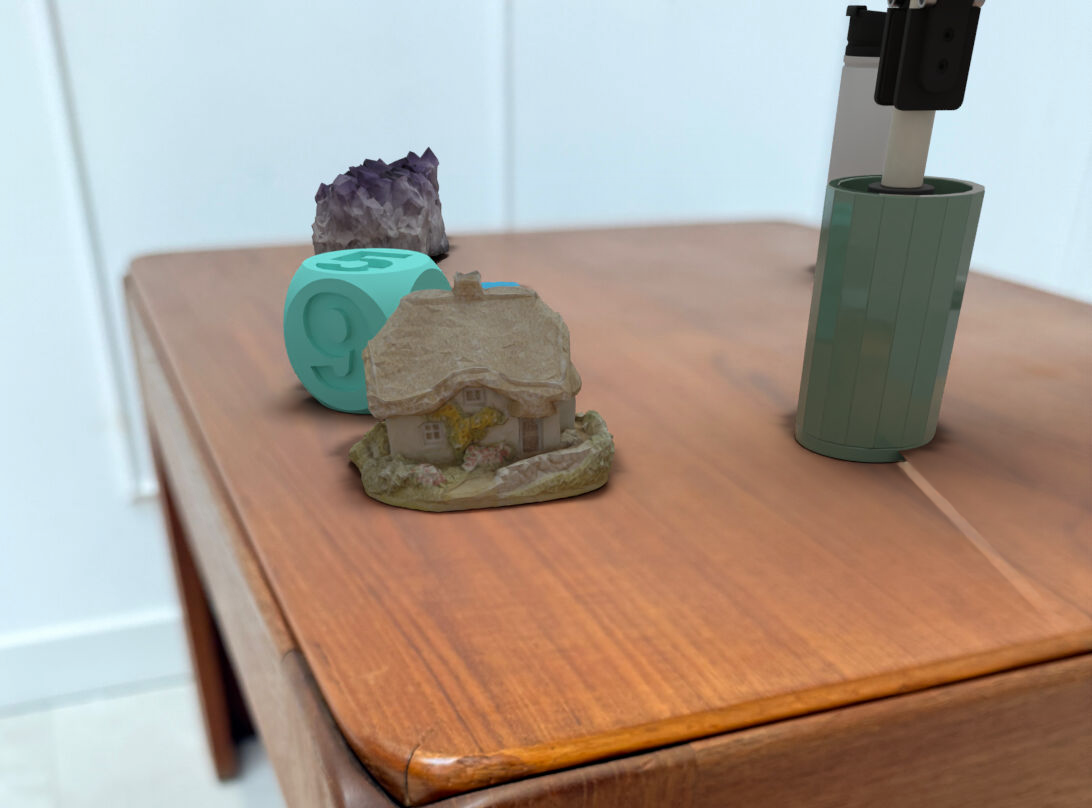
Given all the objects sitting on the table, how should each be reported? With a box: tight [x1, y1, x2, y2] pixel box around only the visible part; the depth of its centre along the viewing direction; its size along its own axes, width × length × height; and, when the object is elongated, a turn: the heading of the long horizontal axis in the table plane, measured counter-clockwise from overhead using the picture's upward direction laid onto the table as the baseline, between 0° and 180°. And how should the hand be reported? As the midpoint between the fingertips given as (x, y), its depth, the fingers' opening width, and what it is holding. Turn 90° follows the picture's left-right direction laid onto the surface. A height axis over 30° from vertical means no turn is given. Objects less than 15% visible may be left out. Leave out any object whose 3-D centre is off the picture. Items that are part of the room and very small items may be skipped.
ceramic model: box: [347, 269, 616, 513], centre depth 56 cm, size 14×11×10 cm
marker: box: [868, 0, 937, 195], centre depth 54 cm, size 3×3×15 cm
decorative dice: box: [282, 248, 453, 415], centre depth 68 cm, size 8×8×8 cm
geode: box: [310, 146, 450, 258], centre depth 102 cm, size 20×12×10 cm, turn 172°
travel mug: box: [826, 4, 893, 185], centre depth 91 cm, size 6×7×20 cm
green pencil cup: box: [794, 175, 986, 464], centre depth 58 cm, size 8×8×13 cm
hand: (916, 104), depth 53 cm, fingers closed on marker, 2 cm apart
